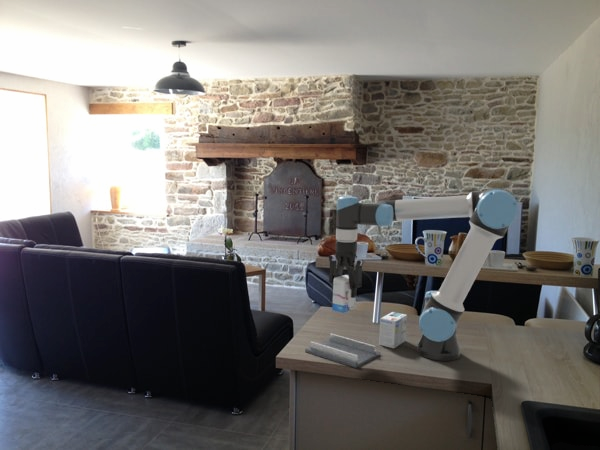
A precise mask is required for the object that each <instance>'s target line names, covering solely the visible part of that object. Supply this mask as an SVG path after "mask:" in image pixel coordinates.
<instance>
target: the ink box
mask: <svg viewBox="0 0 600 450" xmlns="http://www.w3.org/2000/svg"><path fill="white" fill-rule="evenodd" d="M349 288H351V287H350V282H349V276H348V274H344V275H343V274H342V276H339V277H336V278H335V279H334V280H333V287H332V306H331V308H332V311H334V312H338V313H343V314H344V313H346V312H349V311H352V310H354V309H356V307H357V305H356V303H357V296H356V297H355V298H354V306H351V307H348V291H349Z"/></svg>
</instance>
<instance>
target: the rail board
mask: <svg viewBox="0 0 600 450" xmlns="http://www.w3.org/2000/svg"><path fill="white" fill-rule="evenodd" d="M304 351H305V353H308V354H312V355H314V356H317V357H320V358H324V359H326V360H330V361H332V362H336V363H338V364H342V365H345V366H348V367H350V368H351V367H352V368H354V369H357V368H358V367H360V366H362V365H365V364H366V363H368V362H370V361H372V360H375V359H376V358H378V357H379V356H381V352H380V351H377V346H376V345H374V344H370V343H366V342H363V341H359V340H356V339H352V338H351V337H346V336H343V335H338V334H335V333H329V338H327V339H325V340H322V341H321V342H319V343H318V342H315V341H310V342H309V347H307V348H305V349H304Z"/></svg>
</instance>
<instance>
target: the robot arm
mask: <svg viewBox="0 0 600 450" xmlns="http://www.w3.org/2000/svg"><path fill="white" fill-rule="evenodd" d="M518 210H519V206H518V201H517V199H516V198H515V197H514V195H513V193H511V192H509V191H508V190H506V189H504V188H501V187H494V188H489V189H486V190H485V189H484V190H477V191H471V192H469V194H464V195H452V196H437V197H424V198H408V199H407V198H406V199H396V200H393V199H392V200H391V199H390V200H386V199H385V200H379V201H377V202H375V203H366V202H365V203H362V202H360V201H359V198H358V197H357V196H349V195H347V196H346V195H345V196H339V197H338V198H337V204H336V227H335V229H336V230H335V239H336V241H335V254H332V255H329V256H328V261H329V273H328V275H329V276H328V282H329V283H330V284H333V280H334V279H335V278H336V277H339V276H343V271H344V268H345V269H346V270H347V275H348V276H349V282H350V287H351V288H349V291H348V307H351V306H354V298H355V297H356V298H357V289H359V288H361V287H362V283H363V282H362V280H363V278H362V277H363V265H364V263H365V262H364V260H363V259H359V258H358V256H357V250H358V242H357V240H358V228H359V227H358V226H359V225H360V226H361V225H364V226H374V227H390V226H391V225H392V224H393V222H398V221H415V220H416V221H417V220H432V219H433V220H436V219H437V220H438V219H451V218H452V219H453V218H455V219H456V218H469V221H468V223H469V225H470V229H469V231H468V233H467V235H466V237H465V239H464V241H463V243H462V245H461V246H460V248H459V251H458V253H457V254H456V256H455V258H454V260H453V262H452V264H451V266H450V268H449V270H448V272H447V274H446V276H445V278H444V280H443V281H442V283H441V286H440V288H439V289H438V290H429V291H426V292H425V296H424V307H423V310H422V312H421V314H420V315H419V318H418V324H419V330H420V332H421V333H422V334H421V336H420V339H419V341H418V343H417V353H418V354H419V355H420V356H421V357H424V358H426V359H430V360H434V361H442V362H448V361H449V362H450V361H456V360H457V359H459V358H460V357H461V348H460V344H459V340H458V339H459V338H458V337H457V329H458V328H457V326H458V323H459V321H460V319H461V317H462V315H463V313H464V312H465V307H464V304H463V303H464V302H465V299H466V298H467V296H468V293H469V292H470V291H471V288H472V286H473V285H474V282H475V281H476V278H477V277H478V275H479V273H480V271H481V269H482V267H483V265H484V263H485V261H486V260H487V258H488V256H489V255H490V253H491V250H492V249H493V247H494V244H495V243H496V241H497V240H499V239H502V238H504V236H505V235H506V233H507V230H509V228H510V225H512V223H513V222H514V221H515V220H516V218H517V216H518V213H519V211H518Z"/></svg>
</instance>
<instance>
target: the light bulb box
mask: <svg viewBox="0 0 600 450" xmlns="http://www.w3.org/2000/svg"><path fill="white" fill-rule="evenodd" d="M407 321H408V315H407V314H405V313H400V312H395V311H391V312H389V313H388V314H385V315H383V316H382V317H380V318H379V338H378V339H379V340H378V345H379V346H383V347H387V348H391V349H396V348H397V347H398V346H400V345H401V344H403V343H405V342H406V339H407V324H408V323H407Z"/></svg>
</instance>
